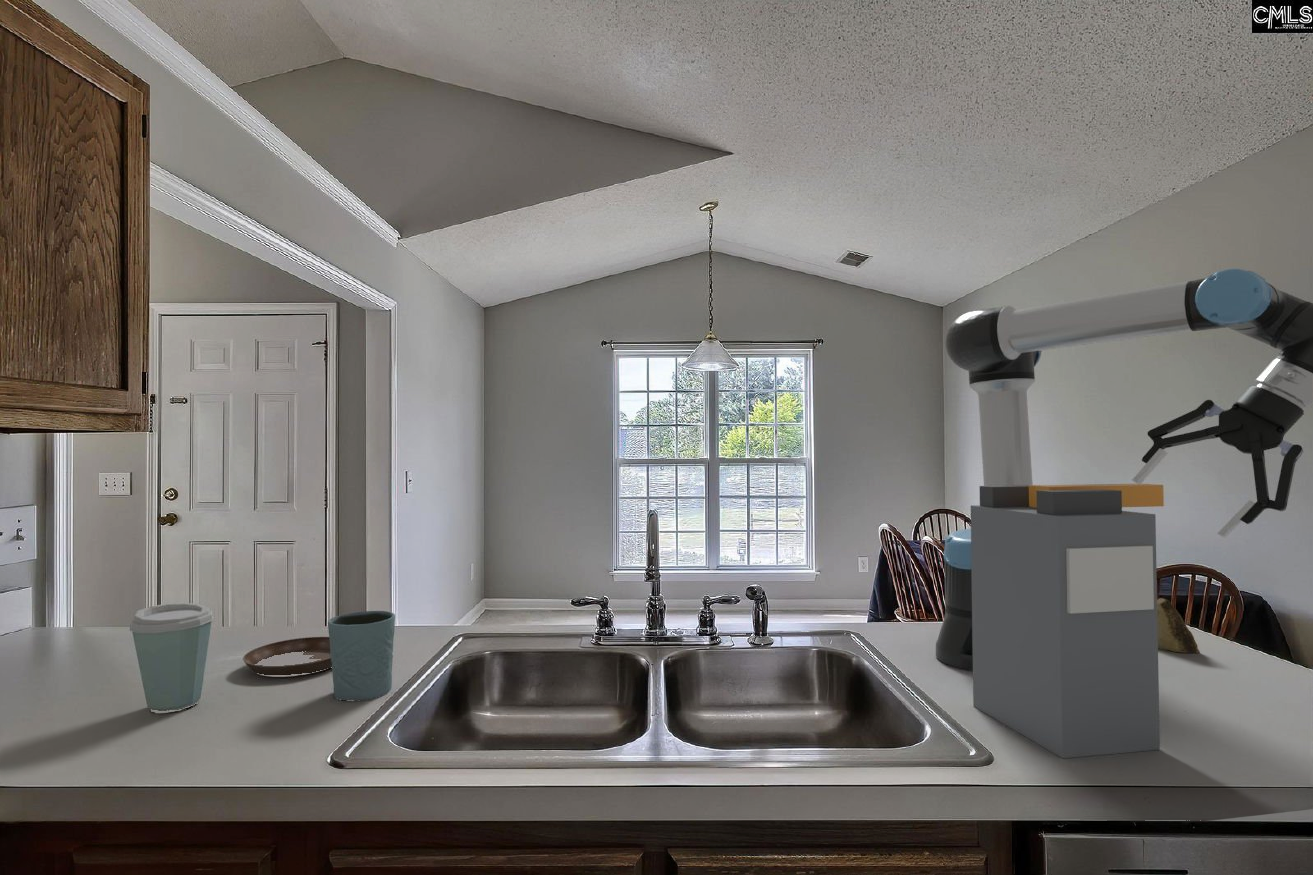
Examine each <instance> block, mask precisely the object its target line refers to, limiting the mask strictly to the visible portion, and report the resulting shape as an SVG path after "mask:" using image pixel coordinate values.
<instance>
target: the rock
mask: <svg viewBox="0 0 1313 875" xmlns="http://www.w3.org/2000/svg"><path fill="white" fill-rule="evenodd" d="M1157 623H1158V649H1161V650H1166V651H1170V652H1171V651H1172V652H1175V653H1184V654H1200V652H1201V651H1200V650H1199V648H1198V647H1199V646H1198V643H1197V642H1196V640H1195V637H1194V635H1193V633H1192V632H1191V630H1190V629H1189V628H1188V627H1187V624H1186V622H1185V621H1184V619H1183V617H1182V615H1181V614H1180V613H1179V611H1178V610H1177V608H1175V606H1174V605H1173V604H1172V603H1171V601H1170V600H1169V599H1165V598H1163V597H1160V598H1157Z"/></svg>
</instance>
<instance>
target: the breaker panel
mask: <svg viewBox="0 0 1313 875" xmlns="http://www.w3.org/2000/svg"><path fill="white" fill-rule="evenodd" d="M1036 492H1037V507H1029V485H1011V486H984V485H979V505H977V504H976V505H970V529H971V572H972V643H973V671H972V692H973V693H972V694H973V695H972V696H973V697H972V701H973V703H972V706H973V707H974V708H976V709H977V710H980V711H981V712H983V713H984V714H986V715H988V716H989V717H991V718H993V719H994V720H996V721H998V722H1000V723H1001V724H1003V725H1005V726H1006V727H1008V728H1010V729H1011V730H1013V731H1015V732H1017V733H1018V734H1020V735H1022V736H1024V738H1027V739H1029V740H1031V741H1032V742H1033V743H1035V744H1037V745H1039V746H1041V747H1042V748H1044V749H1045V750H1047V751H1049V752H1051V753H1052V754H1054V755H1056V756H1058V758H1059V757H1060V758H1061V759H1071V758H1084V757H1093V756H1102V755H1103V756H1105V755H1114V754H1124V753H1125V754H1126V753H1136V752H1138V753H1139V752H1148V751H1159V750H1161V745H1160V744H1161V742H1160V732H1161V731H1160V686H1159V676H1160V675H1159V648H1158V623H1157V600H1158V585H1157V584H1158V583H1157V578H1158V577H1157V531H1156V530H1157V529H1156V527H1157V526H1156V523H1157V522H1156V513H1147V512H1137V511H1128V510H1123V507H1122V491H1120V490H1105V489H1096V490H1040V491H1036Z"/></svg>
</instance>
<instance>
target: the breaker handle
mask: <svg viewBox="0 0 1313 875" xmlns="http://www.w3.org/2000/svg"><path fill="white" fill-rule="evenodd" d="M1096 489H1105V490H1120V491H1122V508H1145V507H1146V508H1147V507H1151V508H1152V507H1165V505H1164V504H1165V503H1164V484H1153V483H1152V484H1151V483H1141V484H1138V483H1100V484H1099V483H1098V484H1096V483H1095V484H1093V483H1092V484H1091V483H1089V484H1086V483H1085V484H1047V485H1046V484H1033V485H1029V507H1037V492H1036V491H1040V490H1096Z"/></svg>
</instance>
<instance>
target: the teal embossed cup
mask: <svg viewBox="0 0 1313 875" xmlns="http://www.w3.org/2000/svg"><path fill="white" fill-rule="evenodd" d="M395 624H396V614H395V613H394V612H392V611H387V610H367V611H366V610H365V611H356V612H351V613H345V614H343V613H342V614H341V615H336V616H334V617H330V619H328V620H327V631H328V637H329V639H330V653H331V662H332V668H331V672H332V673H331V674H332V681H333V695H334V698H335V697H336V698H338V699H341V700H362V701H368V699H369V700H372V699H371V698H374V699H376V697H377V698H379V697H378V696H380V697H382V696H384V695H387V694H388V693H390V691H391V690H392V686H393V675H392V674H393V660H394V659H393V658H394V655H393V653H394V639H395V638H394V637H395V628H396V625H395ZM386 693H387V694H386ZM336 698H335V699H336ZM338 699H337V700H338ZM341 700H340V701H341Z"/></svg>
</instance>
